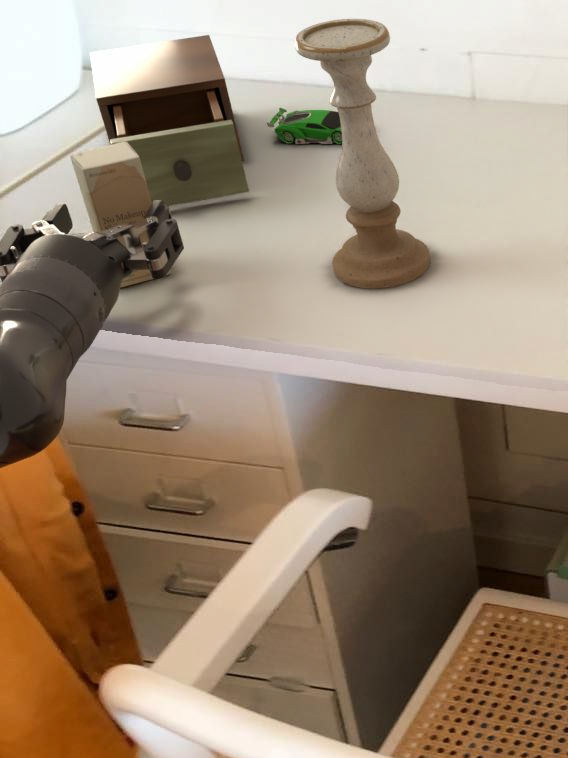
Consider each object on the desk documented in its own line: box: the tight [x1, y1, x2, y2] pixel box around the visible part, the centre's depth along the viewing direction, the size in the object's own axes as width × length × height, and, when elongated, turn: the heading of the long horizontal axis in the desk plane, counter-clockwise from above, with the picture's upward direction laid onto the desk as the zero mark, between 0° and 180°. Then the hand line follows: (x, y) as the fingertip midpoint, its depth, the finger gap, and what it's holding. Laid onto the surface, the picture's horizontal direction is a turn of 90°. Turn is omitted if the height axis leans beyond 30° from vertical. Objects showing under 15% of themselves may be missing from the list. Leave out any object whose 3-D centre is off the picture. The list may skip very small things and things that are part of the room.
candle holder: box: [294, 18, 431, 289], centre depth 111 cm, size 9×9×20 cm
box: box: [69, 142, 171, 288], centre depth 115 cm, size 5×4×11 cm
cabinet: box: [89, 34, 245, 163], centre depth 138 cm, size 15×13×9 cm
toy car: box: [266, 107, 342, 145], centre depth 140 cm, size 10×5×2 cm, turn 82°
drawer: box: [109, 88, 250, 207], centre depth 130 cm, size 15×11×7 cm
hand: (113, 212), depth 113 cm, fingers open, 8 cm apart
